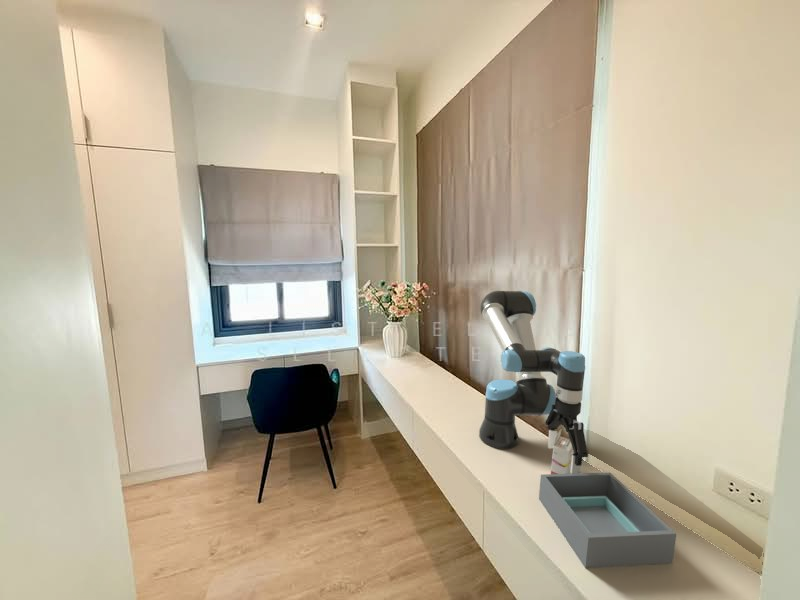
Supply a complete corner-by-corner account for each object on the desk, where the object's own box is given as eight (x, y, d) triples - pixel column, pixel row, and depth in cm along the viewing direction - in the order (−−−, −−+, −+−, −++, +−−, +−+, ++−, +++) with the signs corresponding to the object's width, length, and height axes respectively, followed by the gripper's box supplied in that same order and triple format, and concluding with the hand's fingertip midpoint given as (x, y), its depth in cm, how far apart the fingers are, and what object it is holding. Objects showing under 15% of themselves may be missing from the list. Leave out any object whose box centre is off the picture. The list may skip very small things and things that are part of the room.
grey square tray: (538, 498, 98) (540, 474, 97) (607, 496, 99) (610, 472, 98) (585, 567, 76) (588, 537, 75) (672, 563, 78) (676, 533, 77)
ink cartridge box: (566, 485, 104) (570, 443, 102) (549, 478, 107) (553, 437, 105) (572, 472, 110) (576, 432, 108) (556, 466, 113) (560, 427, 112)
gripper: (538, 384, 117) (533, 439, 120) (581, 418, 92) (574, 485, 95) (558, 384, 118) (553, 438, 120) (606, 417, 93) (598, 485, 96)
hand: (562, 459), depth 108 cm, fingers open, 13 cm apart
